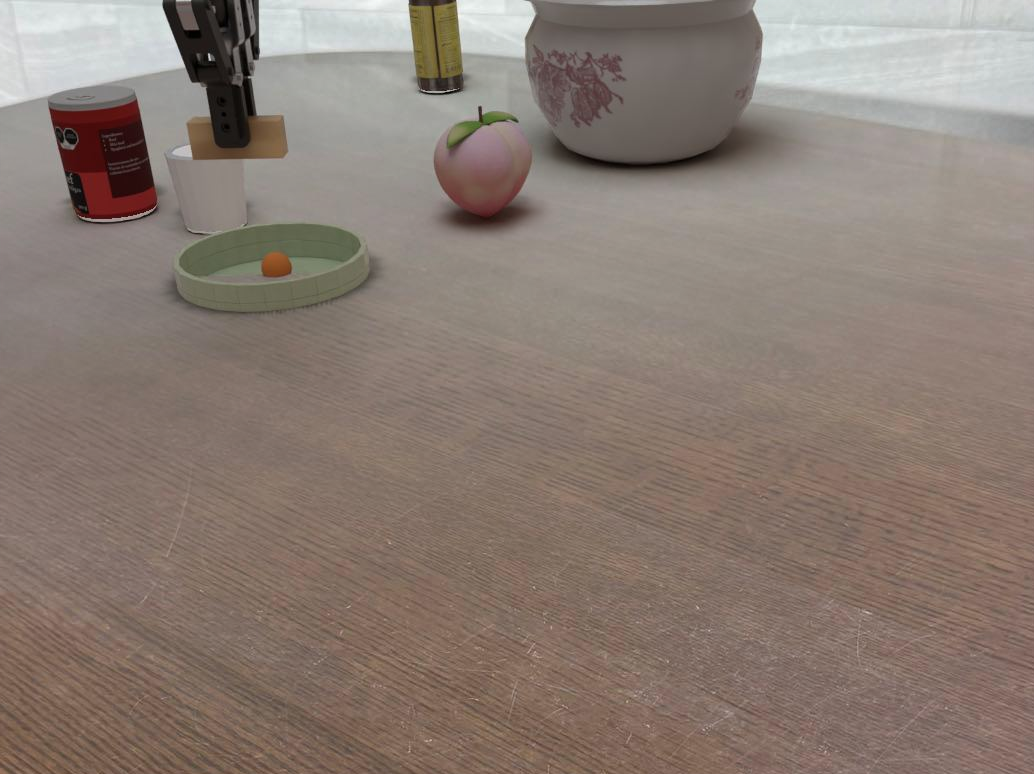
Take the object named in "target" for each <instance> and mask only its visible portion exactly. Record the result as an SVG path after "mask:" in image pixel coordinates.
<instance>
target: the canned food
mask: <svg viewBox="0 0 1034 774" xmlns="http://www.w3.org/2000/svg"><path fill="white" fill-rule="evenodd" d="M47 107H48V112H49V115H50V120H51V121H50V122H51V124H52V128H53V129H52V130H53V132H54V136H55V141H56V144H57V149H58V153H59V156H60V160H61V164H62V169H63V173H64V177H65V182H66V184H67V189H68V192H69V197H70V201H71V205H72V209H73V211H74V213H75V215H76V216H77V215H79V216H81V217H85V218H91V219H112V218H121V217H128V216H133V215H137V214H140V213H144V212H146V211H149V210H151V209H153V208H154V207H155V206H156V205H157V206H158V193H157V189H156V185H155V180H154V175H153V170H152V164H151V159H150V155H149V150H148V149H149V148H148V144H147V140H146V139H147V138H146V135H145V129H144V124H143V120H142V115H141V109H140V107H139V102H138V97H137V95H136V91H135V89H133V88H131V87H128V86H122V85H96V86H94V85H93V86H85V87H77V88H70V89H66V90H61V91H59V92H56V93H53V94H51V95H50V96H48V98H47Z"/></svg>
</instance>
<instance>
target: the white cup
mask: <svg viewBox="0 0 1034 774" xmlns="http://www.w3.org/2000/svg"><path fill="white" fill-rule="evenodd" d="M164 156H165V160H166V163H167V168H168V171H169V174H170V178H171V181H172V185H173V189H174V192H175V194H176V195H175V196H176V198H177V202H178V205H179V208H180V212H181V215H182V219H183V222H184V226H185V225H186V226H185V228H186V227H187V228H189V229H191V230H194V231H205V232H210V231H211V232H216V231H225V230H229V229H233V228H237V227H240V226H241V225H242V224H245V222H246V221H247V222H248V211H247V196H246V185H245V170H244V169H245V168H244V159H221V160H193V157H192V152H191V146H190V142H188V143H184V144H180V145H175V146H173V147H170V148H169V149H167V150H166V151H165V152H164Z"/></svg>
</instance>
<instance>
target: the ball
mask: <svg viewBox="0 0 1034 774" xmlns="http://www.w3.org/2000/svg"><path fill="white" fill-rule="evenodd" d="M261 270H262V273H263V276H265V277H267V278H268V277H269V278H279V277H284V276H285V277H286V276H288V275H292V274H291V272H292V265H291V262H290V260H289V259H288V257H287V256H285V255H284V254H282V253H279V252H273V253H270V254H268V255H267V256H265V258H264V259H263V261H262V264H261Z"/></svg>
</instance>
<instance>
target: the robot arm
mask: <svg viewBox="0 0 1034 774" xmlns="http://www.w3.org/2000/svg"><path fill="white" fill-rule="evenodd" d="M161 6H162V10H163V12H164V16H165V18H166V21H167V23H168V26H169V28H170V31H171V33H172V36H173V39H174V42H175V44H176V47H177V49H178V52H179V54H180V57H181V59H182V62H183V65H184V67H185V70H186V72H187V75H188V78H189V80H190V82H191V83H192V84H199V85H200V87H201V88H205V91H206V92H205V93H206V97H207V98H206V99H207V105H208V111H209V117H211V122H212V128H213V134H214V140H215V143H216V145H217V146H218V147H220V148H244V147H246V146H247V145H248V144H249V143H250V140H251V137H250V131H249V124H248V116H258V113H257V108H256V99H255V93H254V87H253V81H252V77H254V75H255V69H256V64H255V62H254V61H259V60H260V55H261V49H260V0H162V4H161Z"/></svg>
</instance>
